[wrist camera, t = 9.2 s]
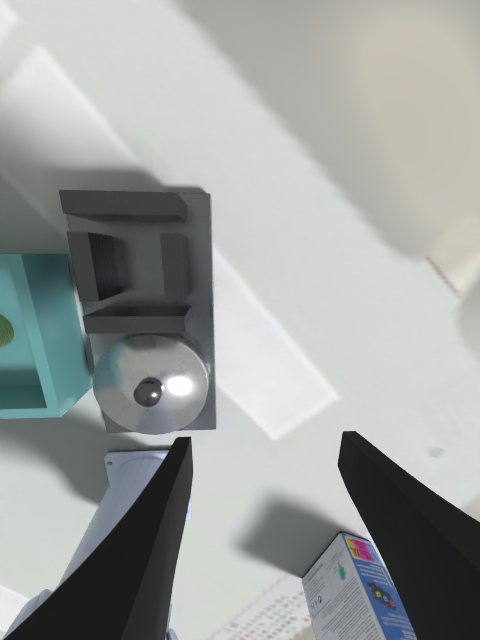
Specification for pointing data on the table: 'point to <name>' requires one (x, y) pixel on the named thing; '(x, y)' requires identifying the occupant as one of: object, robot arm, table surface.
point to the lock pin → (5, 331)
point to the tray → (40, 338)
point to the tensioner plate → (147, 305)
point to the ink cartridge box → (354, 595)
